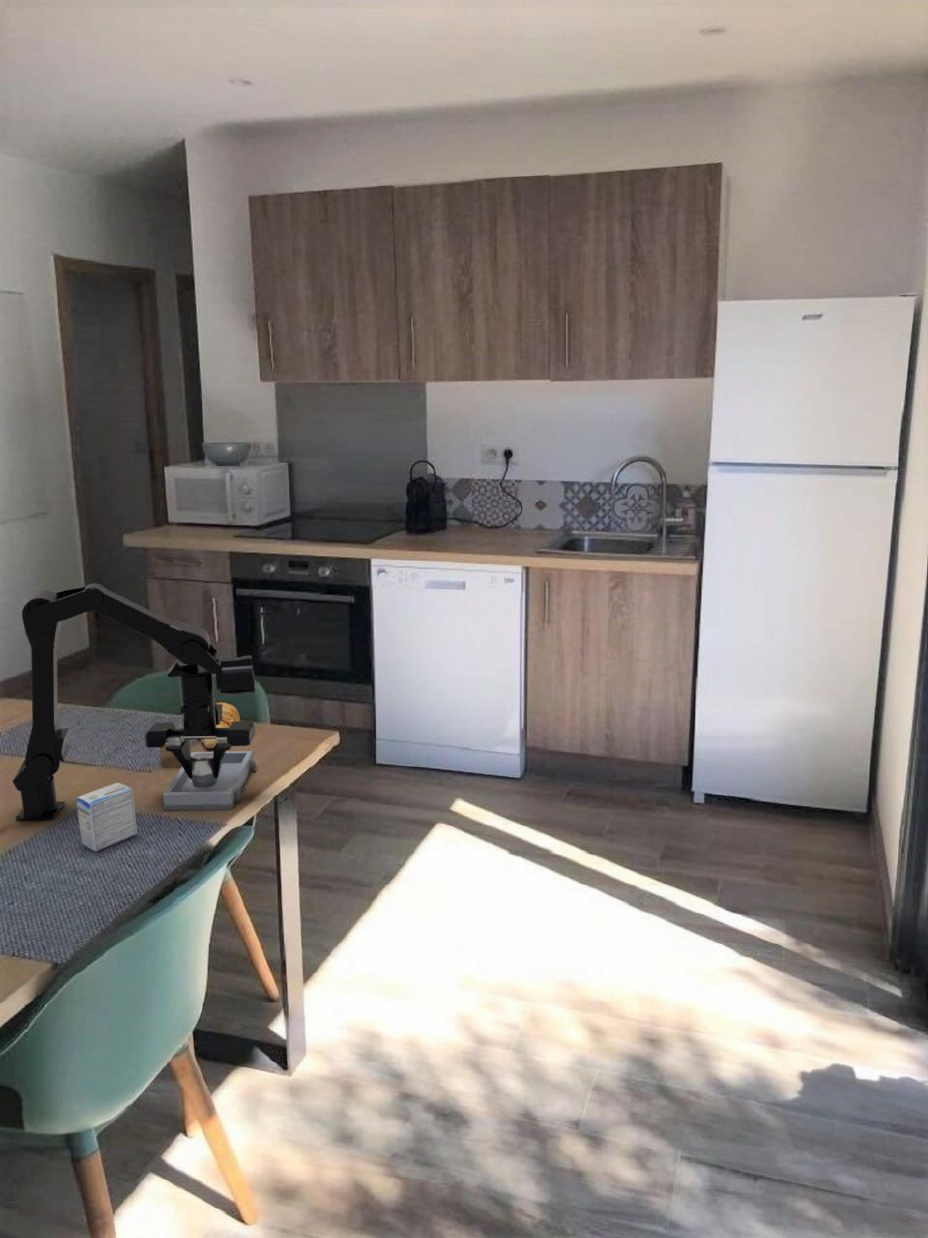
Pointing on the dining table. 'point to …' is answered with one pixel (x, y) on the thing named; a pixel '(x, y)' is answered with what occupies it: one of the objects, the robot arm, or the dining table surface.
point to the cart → (216, 796)
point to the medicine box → (106, 816)
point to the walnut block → (168, 758)
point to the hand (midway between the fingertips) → (204, 778)
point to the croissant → (224, 721)
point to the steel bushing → (203, 770)
